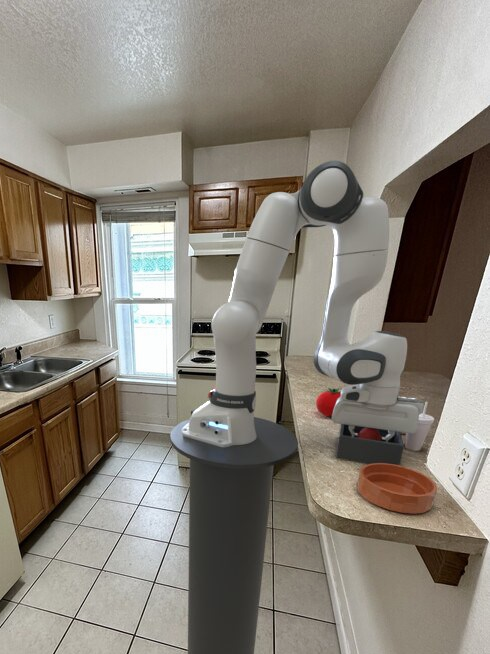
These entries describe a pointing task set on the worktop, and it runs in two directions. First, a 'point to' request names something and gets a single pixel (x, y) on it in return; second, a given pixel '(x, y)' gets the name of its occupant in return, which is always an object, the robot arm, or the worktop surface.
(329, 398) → the tomato
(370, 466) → the bowl
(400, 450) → the bin
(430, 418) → the smoothie
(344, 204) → the robot arm
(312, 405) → the worktop surface
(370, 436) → the pomegranate
